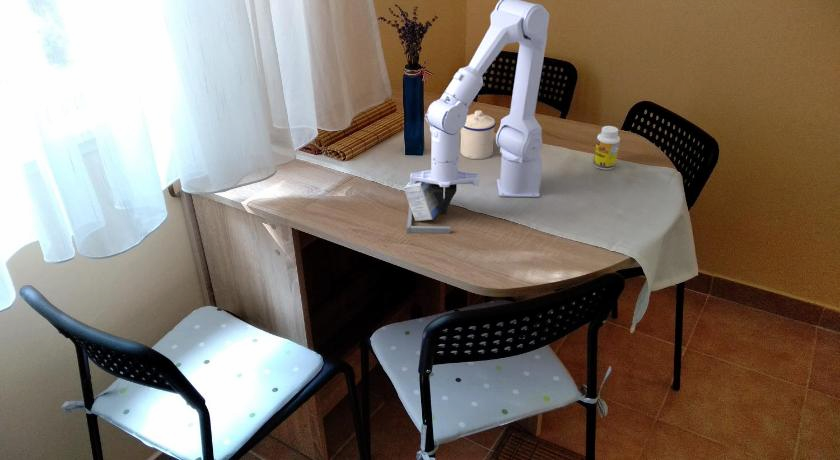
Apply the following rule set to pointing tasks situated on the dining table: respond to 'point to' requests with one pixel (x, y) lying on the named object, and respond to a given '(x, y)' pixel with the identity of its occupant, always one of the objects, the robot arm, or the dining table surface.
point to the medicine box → (422, 200)
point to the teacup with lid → (477, 136)
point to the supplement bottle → (606, 148)
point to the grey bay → (424, 227)
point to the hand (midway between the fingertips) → (443, 212)
